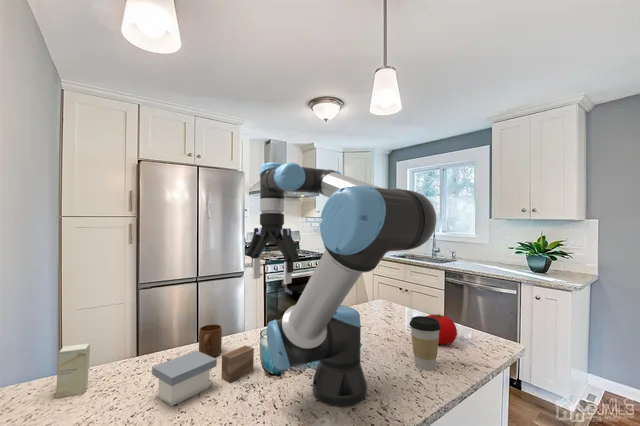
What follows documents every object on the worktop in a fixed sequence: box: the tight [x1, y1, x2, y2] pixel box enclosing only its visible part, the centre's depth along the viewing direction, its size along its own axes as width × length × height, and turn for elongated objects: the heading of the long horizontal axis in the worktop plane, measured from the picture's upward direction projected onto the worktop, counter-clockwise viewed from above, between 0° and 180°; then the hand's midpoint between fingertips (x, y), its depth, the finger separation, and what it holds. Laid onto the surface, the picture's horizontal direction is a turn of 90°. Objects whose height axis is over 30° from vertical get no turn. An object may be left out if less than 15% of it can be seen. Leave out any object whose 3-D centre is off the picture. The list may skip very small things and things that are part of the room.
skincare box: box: [55, 342, 91, 399], centre depth 83 cm, size 6×4×12 cm
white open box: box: [157, 369, 211, 407], centre depth 83 cm, size 6×11×6 cm, turn 144°
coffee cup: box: [409, 315, 441, 372], centre depth 99 cm, size 10×10×15 cm
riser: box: [220, 345, 255, 384], centre depth 93 cm, size 4×9×7 cm, turn 144°
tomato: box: [425, 313, 458, 346], centre depth 120 cm, size 14×13×10 cm
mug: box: [198, 324, 223, 358], centre depth 105 cm, size 12×8×9 cm, turn 9°
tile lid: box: [151, 349, 217, 386], centre depth 83 cm, size 10×13×2 cm
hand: (271, 280), depth 94 cm, fingers open, 13 cm apart
